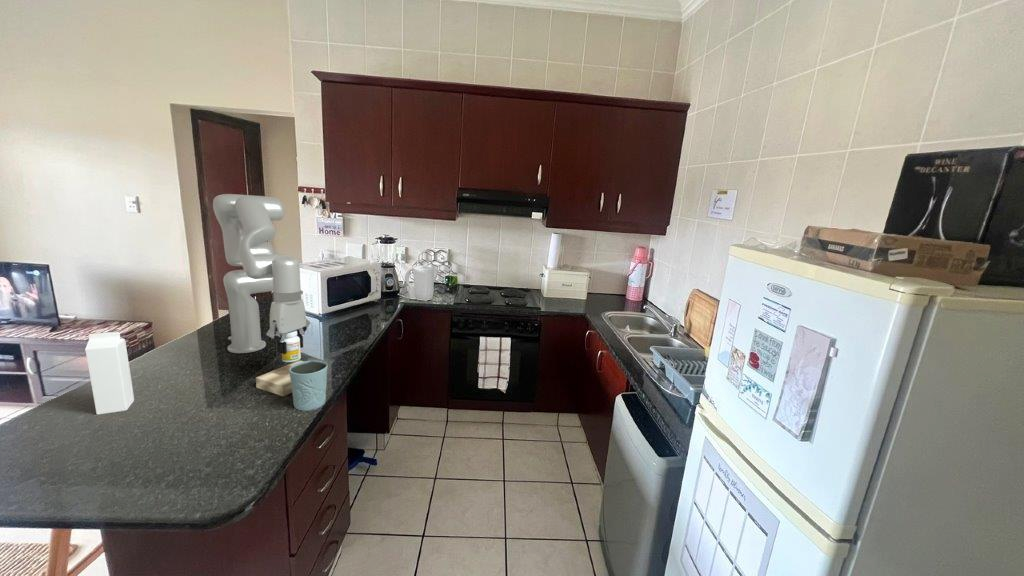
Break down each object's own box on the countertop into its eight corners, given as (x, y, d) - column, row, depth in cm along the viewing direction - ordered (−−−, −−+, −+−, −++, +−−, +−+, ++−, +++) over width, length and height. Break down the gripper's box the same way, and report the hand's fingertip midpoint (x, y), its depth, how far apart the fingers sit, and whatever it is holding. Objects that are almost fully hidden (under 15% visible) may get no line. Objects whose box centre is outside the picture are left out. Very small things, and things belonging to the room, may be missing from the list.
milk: (126, 410, 104) (115, 335, 99) (96, 415, 101) (82, 338, 96) (134, 400, 109) (124, 328, 105) (105, 404, 106) (93, 330, 102)
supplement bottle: (287, 356, 127) (285, 328, 125) (303, 356, 127) (302, 329, 125) (278, 362, 122) (276, 333, 120) (296, 362, 122) (294, 334, 120)
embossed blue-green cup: (290, 414, 108) (288, 376, 106) (291, 397, 117) (289, 362, 114) (329, 408, 113) (328, 371, 110) (328, 392, 122) (327, 358, 119)
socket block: (256, 387, 121) (255, 377, 120) (299, 369, 136) (299, 360, 135) (283, 396, 117) (282, 386, 116) (325, 376, 132) (324, 367, 131)
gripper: (302, 290, 129) (304, 340, 133) (253, 300, 114) (257, 356, 117) (318, 293, 127) (320, 344, 131) (270, 303, 111) (274, 361, 115)
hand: (290, 349), depth 124 cm, fingers closed on supplement bottle, 5 cm apart
